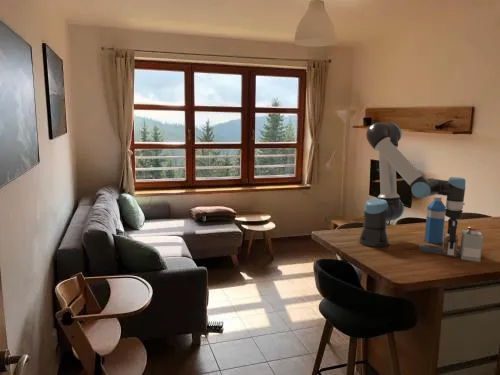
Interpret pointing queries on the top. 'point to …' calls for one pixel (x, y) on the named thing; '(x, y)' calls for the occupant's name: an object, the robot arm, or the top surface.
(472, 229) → the plunger
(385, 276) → the top surface
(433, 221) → the water bottle
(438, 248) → the rail
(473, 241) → the white box
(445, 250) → the block
